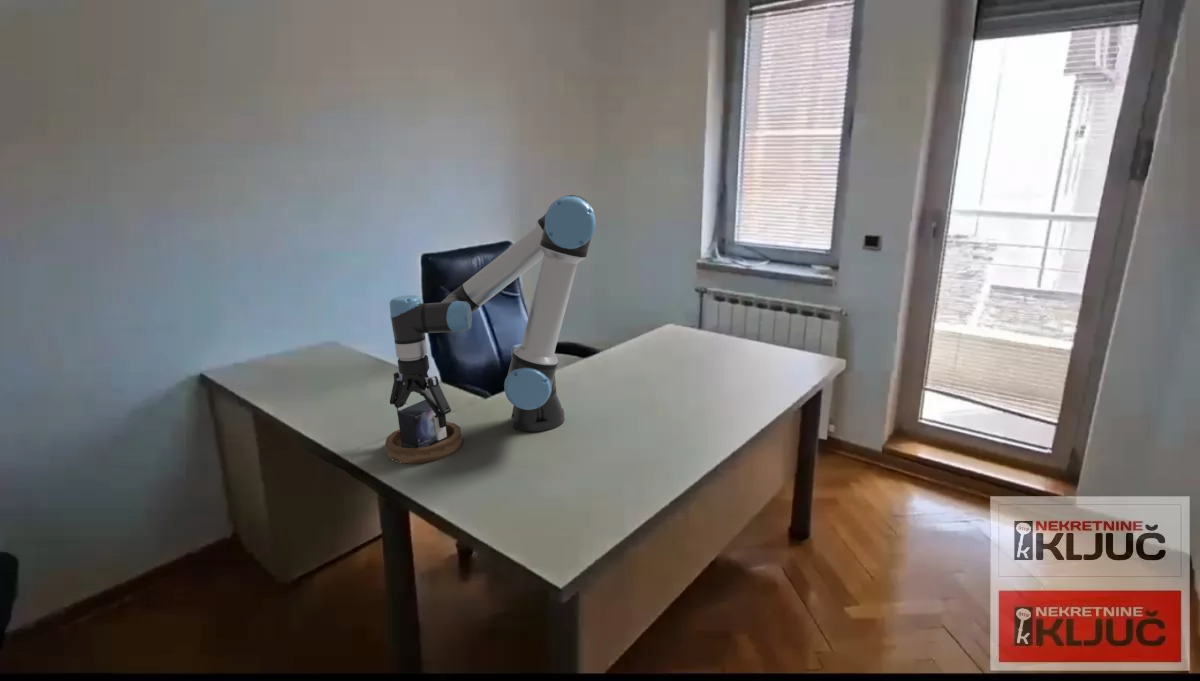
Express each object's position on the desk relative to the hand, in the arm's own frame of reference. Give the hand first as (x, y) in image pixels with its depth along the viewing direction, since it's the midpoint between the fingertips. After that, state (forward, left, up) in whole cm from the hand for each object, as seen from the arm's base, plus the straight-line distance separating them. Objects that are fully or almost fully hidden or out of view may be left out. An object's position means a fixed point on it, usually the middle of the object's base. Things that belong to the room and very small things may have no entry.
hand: (423, 434), depth 162 cm
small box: (0, 0, -3) cm, 3 cm away
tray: (0, 0, -4) cm, 4 cm away
